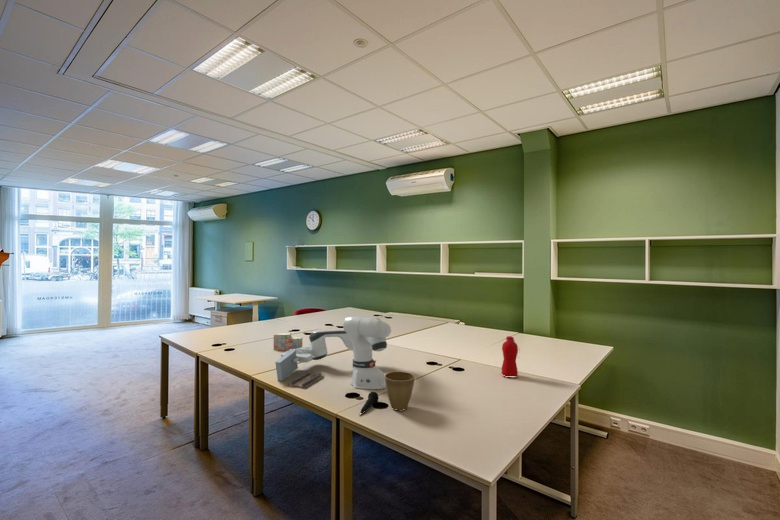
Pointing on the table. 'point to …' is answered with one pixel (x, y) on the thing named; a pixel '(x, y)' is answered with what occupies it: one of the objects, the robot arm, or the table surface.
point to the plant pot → (399, 388)
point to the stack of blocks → (286, 341)
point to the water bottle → (509, 357)
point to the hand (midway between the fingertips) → (289, 360)
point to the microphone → (370, 401)
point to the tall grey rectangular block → (286, 365)
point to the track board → (305, 380)
